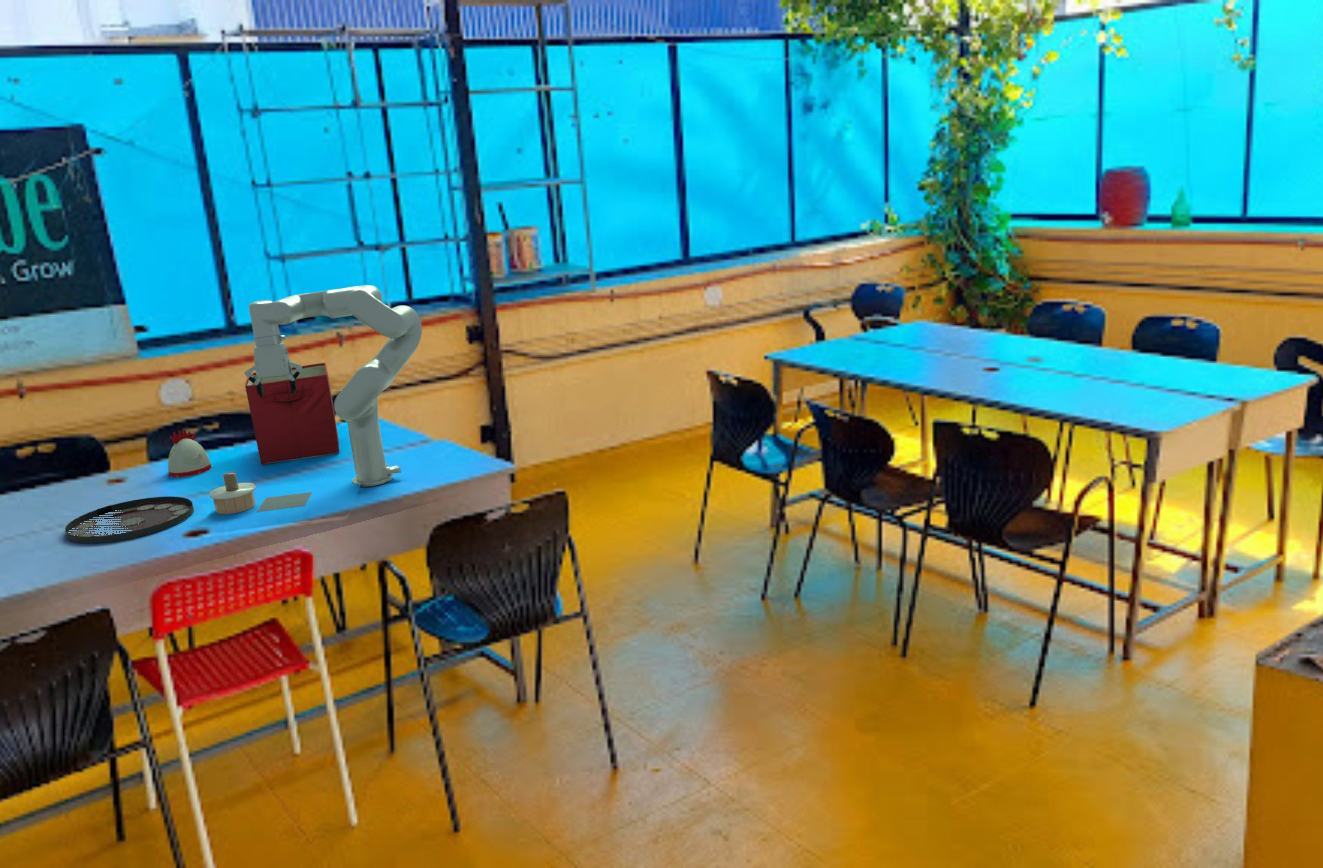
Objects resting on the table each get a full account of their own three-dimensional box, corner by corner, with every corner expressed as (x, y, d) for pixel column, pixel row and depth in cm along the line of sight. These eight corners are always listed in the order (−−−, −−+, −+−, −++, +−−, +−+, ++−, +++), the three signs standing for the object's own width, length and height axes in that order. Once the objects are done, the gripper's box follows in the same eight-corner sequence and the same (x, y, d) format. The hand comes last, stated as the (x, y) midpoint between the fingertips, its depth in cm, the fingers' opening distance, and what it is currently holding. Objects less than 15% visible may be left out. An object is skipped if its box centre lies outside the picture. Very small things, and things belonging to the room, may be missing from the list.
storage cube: (262, 447, 407) (247, 370, 400) (338, 435, 414) (325, 360, 407) (259, 469, 377) (243, 387, 370) (341, 456, 385) (327, 375, 377)
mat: (312, 494, 342) (312, 491, 341) (305, 508, 328) (304, 505, 328) (266, 500, 340) (266, 497, 340) (257, 515, 327) (256, 511, 326)
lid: (259, 483, 338) (256, 465, 336) (250, 495, 325) (246, 477, 324) (215, 488, 336) (212, 470, 335) (205, 501, 324) (201, 482, 322)
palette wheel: (160, 498, 355) (158, 490, 354) (215, 513, 333) (214, 505, 332) (47, 533, 329) (45, 524, 329) (99, 552, 307) (97, 543, 307)
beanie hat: (163, 473, 384) (154, 431, 380) (203, 462, 393) (194, 422, 389) (177, 479, 374) (168, 437, 370) (217, 469, 382) (209, 427, 378)
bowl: (259, 502, 338) (255, 484, 337) (251, 514, 328) (247, 495, 326) (222, 507, 337) (218, 489, 336) (213, 519, 327) (209, 500, 325)
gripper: (298, 335, 345) (308, 389, 349) (241, 342, 343) (252, 395, 347) (294, 339, 337) (304, 394, 342) (236, 346, 335) (247, 400, 340)
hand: (278, 394), depth 344 cm, fingers open, 9 cm apart
